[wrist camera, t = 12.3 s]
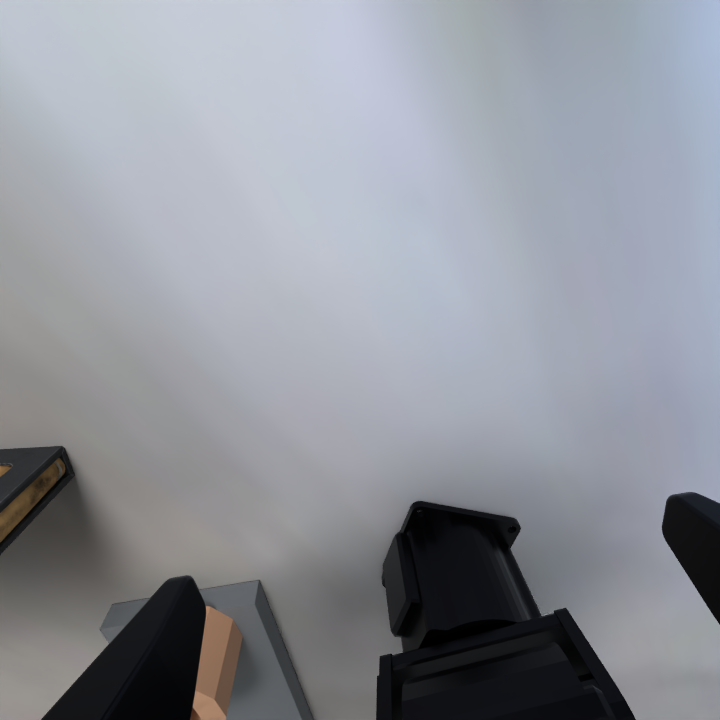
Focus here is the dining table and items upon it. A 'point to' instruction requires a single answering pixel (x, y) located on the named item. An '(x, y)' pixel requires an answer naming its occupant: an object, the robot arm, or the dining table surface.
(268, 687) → the board
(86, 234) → the dining table surface
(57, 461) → the ammunition clip
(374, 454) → the dining table surface
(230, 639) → the ring
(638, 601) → the dining table surface
